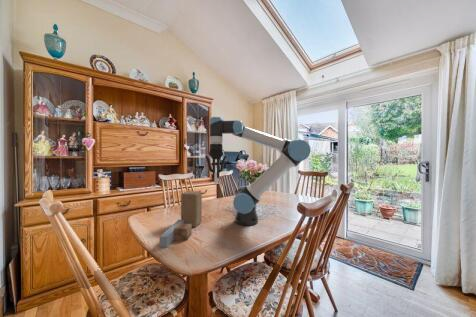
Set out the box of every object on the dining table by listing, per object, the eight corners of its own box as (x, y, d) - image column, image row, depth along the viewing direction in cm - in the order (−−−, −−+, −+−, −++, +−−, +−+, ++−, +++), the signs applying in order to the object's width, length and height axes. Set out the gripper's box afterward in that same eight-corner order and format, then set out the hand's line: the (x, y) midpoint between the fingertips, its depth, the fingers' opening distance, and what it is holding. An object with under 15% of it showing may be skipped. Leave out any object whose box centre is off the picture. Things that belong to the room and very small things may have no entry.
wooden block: (195, 227, 119) (195, 194, 119) (180, 226, 121) (180, 193, 121) (202, 222, 129) (202, 191, 128) (187, 220, 131) (187, 190, 130)
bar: (184, 228, 118) (184, 219, 118) (167, 247, 94) (167, 236, 94) (178, 228, 119) (178, 219, 118) (159, 247, 95) (159, 236, 94)
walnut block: (191, 234, 109) (191, 224, 109) (187, 240, 102) (187, 228, 102) (179, 234, 110) (179, 223, 110) (174, 239, 103) (174, 228, 103)
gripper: (227, 144, 122) (227, 182, 122) (206, 144, 123) (206, 182, 123) (226, 143, 114) (226, 184, 115) (203, 143, 115) (203, 184, 116)
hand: (215, 183), depth 119 cm, fingers closed
